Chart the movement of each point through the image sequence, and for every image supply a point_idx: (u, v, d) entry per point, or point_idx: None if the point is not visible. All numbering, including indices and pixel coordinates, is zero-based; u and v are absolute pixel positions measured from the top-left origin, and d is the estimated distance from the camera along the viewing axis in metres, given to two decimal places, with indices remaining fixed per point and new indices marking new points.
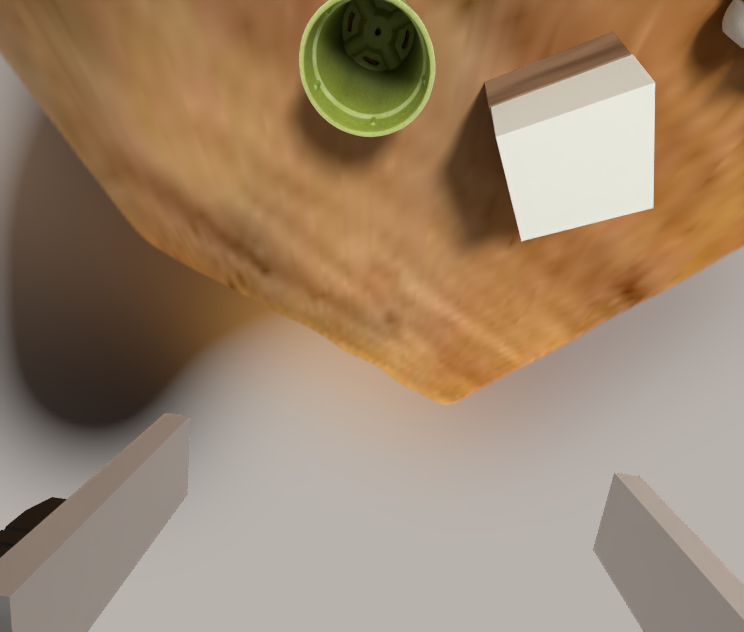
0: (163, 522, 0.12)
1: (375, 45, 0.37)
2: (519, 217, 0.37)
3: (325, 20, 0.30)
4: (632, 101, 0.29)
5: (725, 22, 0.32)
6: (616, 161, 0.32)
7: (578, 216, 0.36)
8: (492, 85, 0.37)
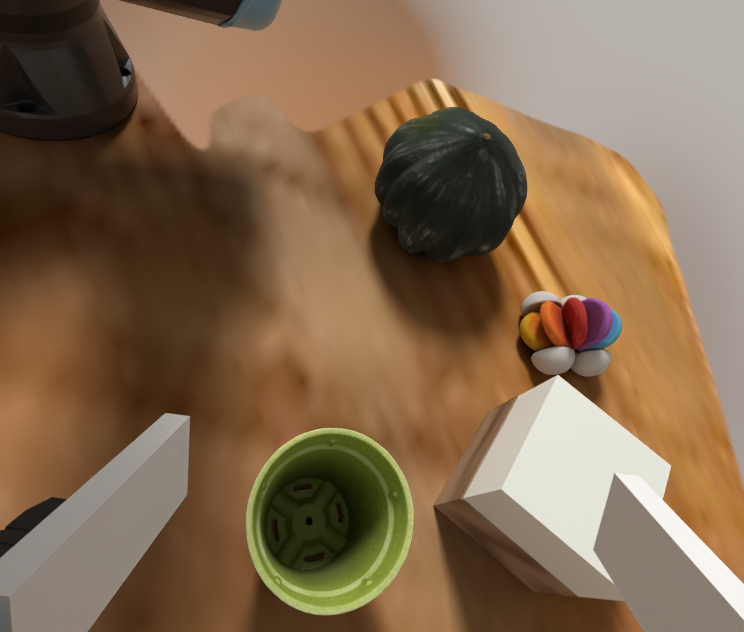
0: (163, 522, 0.12)
1: (311, 537, 0.31)
2: (602, 569, 0.26)
3: (262, 501, 0.25)
4: (560, 394, 0.31)
5: (542, 365, 0.42)
6: (603, 444, 0.30)
7: None
8: (443, 497, 0.34)
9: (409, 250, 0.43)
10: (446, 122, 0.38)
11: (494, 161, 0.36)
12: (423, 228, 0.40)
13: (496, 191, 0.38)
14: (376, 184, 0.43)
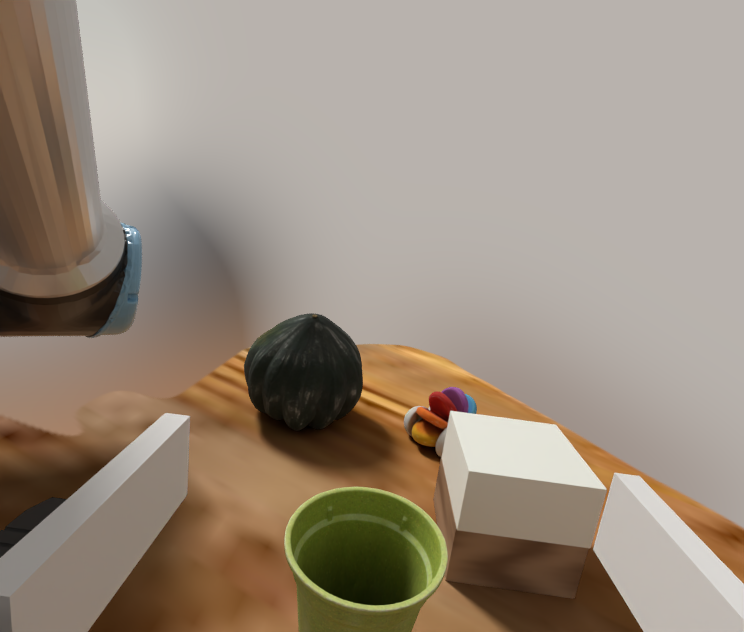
0: (163, 522, 0.12)
1: None
2: (571, 482, 0.32)
3: None
4: (460, 417, 0.40)
5: None
6: (508, 429, 0.39)
7: (567, 453, 0.36)
8: None
9: (300, 423, 0.51)
10: (284, 324, 0.53)
11: (327, 328, 0.52)
12: (304, 393, 0.49)
13: (339, 346, 0.52)
14: (250, 390, 0.52)
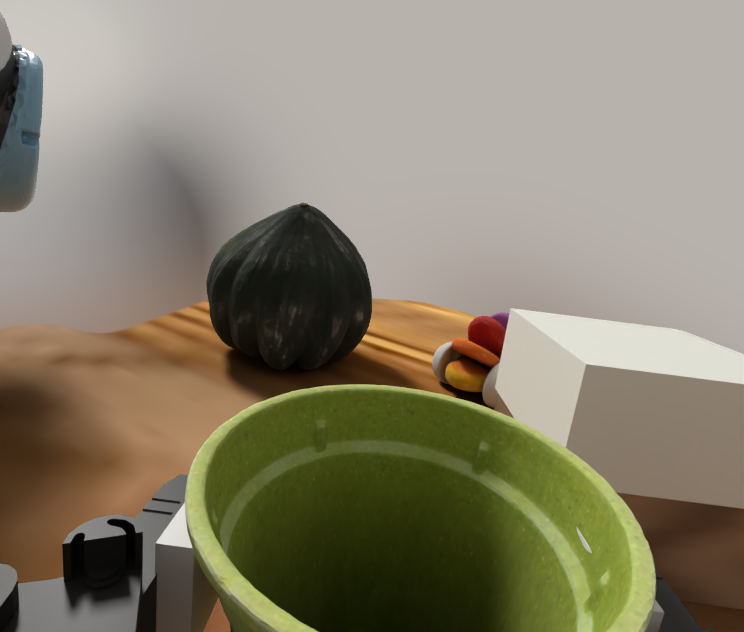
0: None
1: None
2: None
3: None
4: (531, 314, 0.25)
5: None
6: (614, 328, 0.24)
7: (731, 355, 0.21)
8: None
9: (283, 355, 0.35)
10: (261, 220, 0.38)
11: (322, 221, 0.36)
12: (287, 308, 0.34)
13: (339, 248, 0.36)
14: (212, 311, 0.36)
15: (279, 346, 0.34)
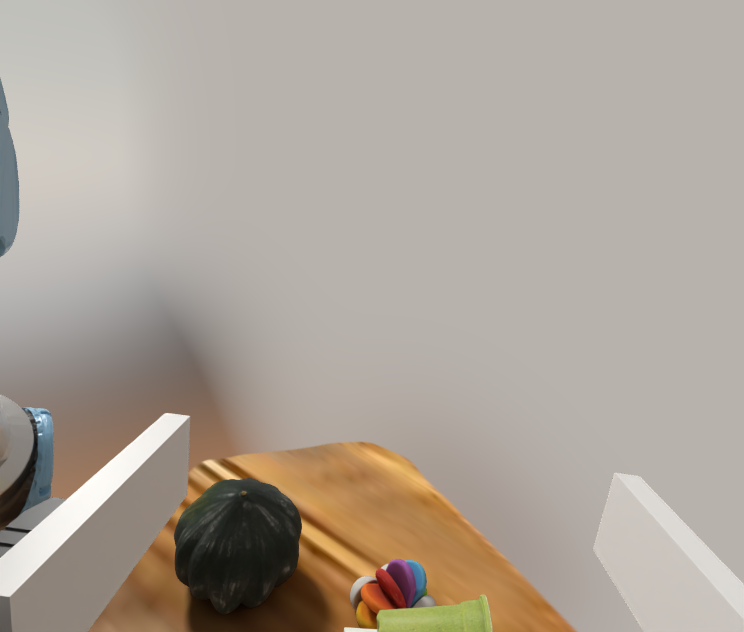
0: (163, 522, 0.12)
1: None
2: None
3: None
4: None
5: None
6: None
7: None
8: None
9: (227, 611, 0.48)
10: (213, 497, 0.51)
11: (257, 505, 0.49)
12: (228, 585, 0.47)
13: (270, 524, 0.49)
14: (176, 571, 0.49)
15: (223, 607, 0.47)
